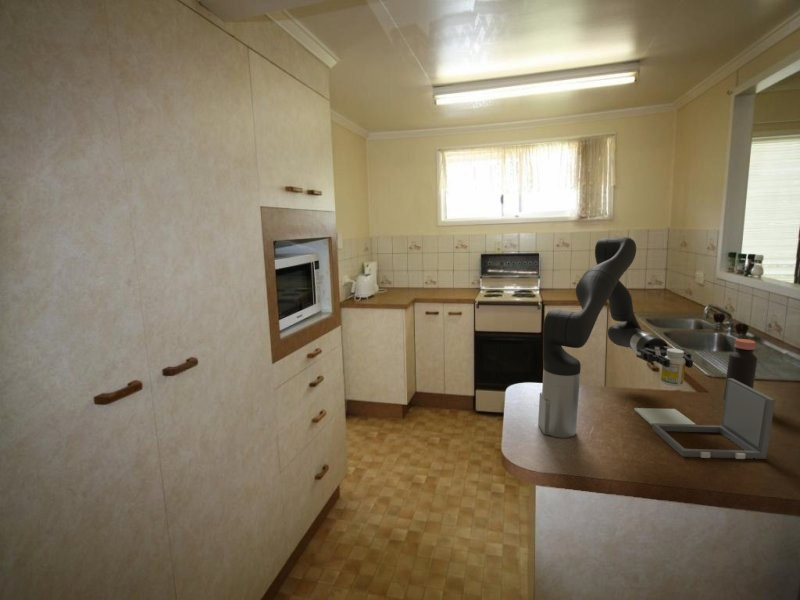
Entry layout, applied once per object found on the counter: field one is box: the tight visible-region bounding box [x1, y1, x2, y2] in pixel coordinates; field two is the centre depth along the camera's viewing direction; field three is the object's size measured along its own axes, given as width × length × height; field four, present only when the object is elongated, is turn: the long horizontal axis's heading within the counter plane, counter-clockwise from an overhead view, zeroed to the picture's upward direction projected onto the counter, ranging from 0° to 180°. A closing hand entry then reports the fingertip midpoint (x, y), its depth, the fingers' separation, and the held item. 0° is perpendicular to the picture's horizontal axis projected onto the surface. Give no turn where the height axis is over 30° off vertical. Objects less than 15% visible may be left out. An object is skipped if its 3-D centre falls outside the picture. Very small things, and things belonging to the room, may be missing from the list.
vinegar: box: [723, 338, 758, 401], centre depth 131 cm, size 7×7×20 cm
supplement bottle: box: [660, 347, 686, 387], centre depth 118 cm, size 5×5×10 cm
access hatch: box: [651, 378, 776, 460], centre depth 107 cm, size 19×15×15 cm
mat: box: [633, 407, 697, 426], centre depth 122 cm, size 12×10×1 cm
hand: (679, 364), depth 115 cm, fingers closed on supplement bottle, 5 cm apart
